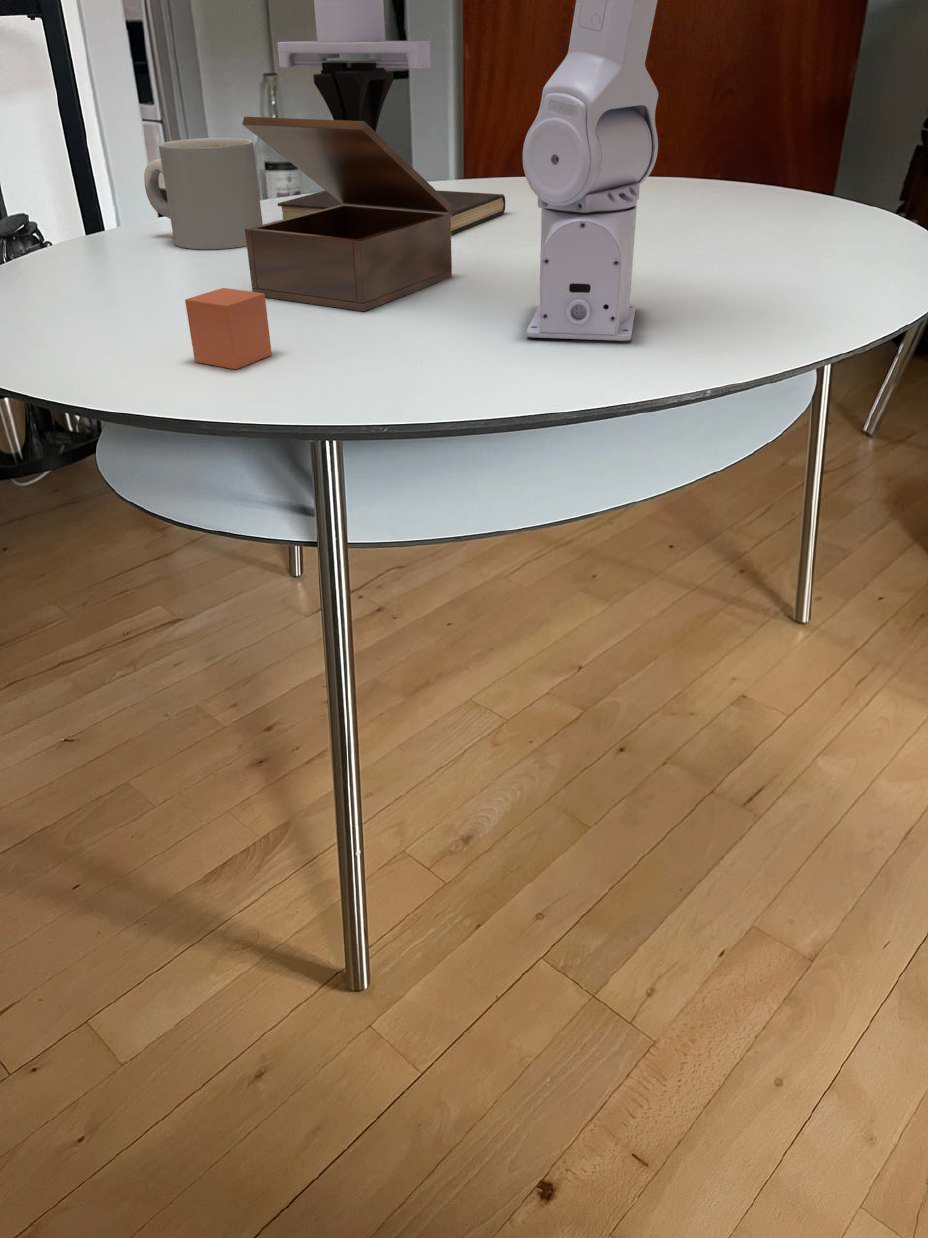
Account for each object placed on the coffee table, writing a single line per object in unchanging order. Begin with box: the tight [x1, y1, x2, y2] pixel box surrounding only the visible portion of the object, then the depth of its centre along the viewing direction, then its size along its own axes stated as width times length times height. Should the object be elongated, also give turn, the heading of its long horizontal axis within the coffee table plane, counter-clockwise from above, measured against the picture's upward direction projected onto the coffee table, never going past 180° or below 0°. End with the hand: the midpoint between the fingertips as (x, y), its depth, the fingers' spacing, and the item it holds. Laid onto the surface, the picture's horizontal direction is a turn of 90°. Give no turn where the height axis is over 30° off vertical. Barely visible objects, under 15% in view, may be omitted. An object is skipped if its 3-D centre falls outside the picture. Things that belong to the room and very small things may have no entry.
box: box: [245, 204, 453, 312], centre depth 90 cm, size 14×12×6 cm
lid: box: [241, 116, 451, 212], centre depth 87 cm, size 15×12×1 cm
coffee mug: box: [143, 137, 264, 250], centre depth 110 cm, size 13×10×10 cm
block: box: [184, 287, 273, 370], centre depth 72 cm, size 4×4×4 cm
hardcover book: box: [277, 189, 506, 236], centre depth 121 cm, size 16×23×2 cm
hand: (359, 161), depth 88 cm, fingers closed
